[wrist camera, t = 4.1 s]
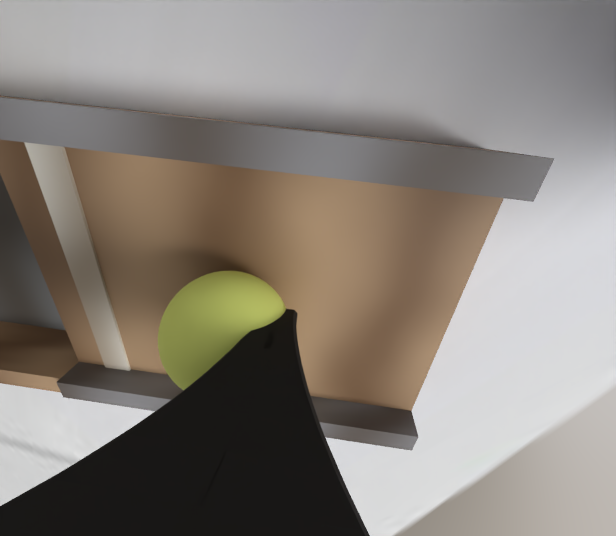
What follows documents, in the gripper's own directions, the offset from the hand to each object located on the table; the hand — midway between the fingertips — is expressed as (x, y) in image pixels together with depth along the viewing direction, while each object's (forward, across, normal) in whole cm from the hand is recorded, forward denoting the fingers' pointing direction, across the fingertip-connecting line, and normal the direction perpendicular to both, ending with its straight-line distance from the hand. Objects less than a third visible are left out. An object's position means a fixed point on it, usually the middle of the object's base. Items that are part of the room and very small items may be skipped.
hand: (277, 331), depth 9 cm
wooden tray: (+3, +6, 0) cm, 7 cm away
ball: (0, +2, 0) cm, 2 cm away
